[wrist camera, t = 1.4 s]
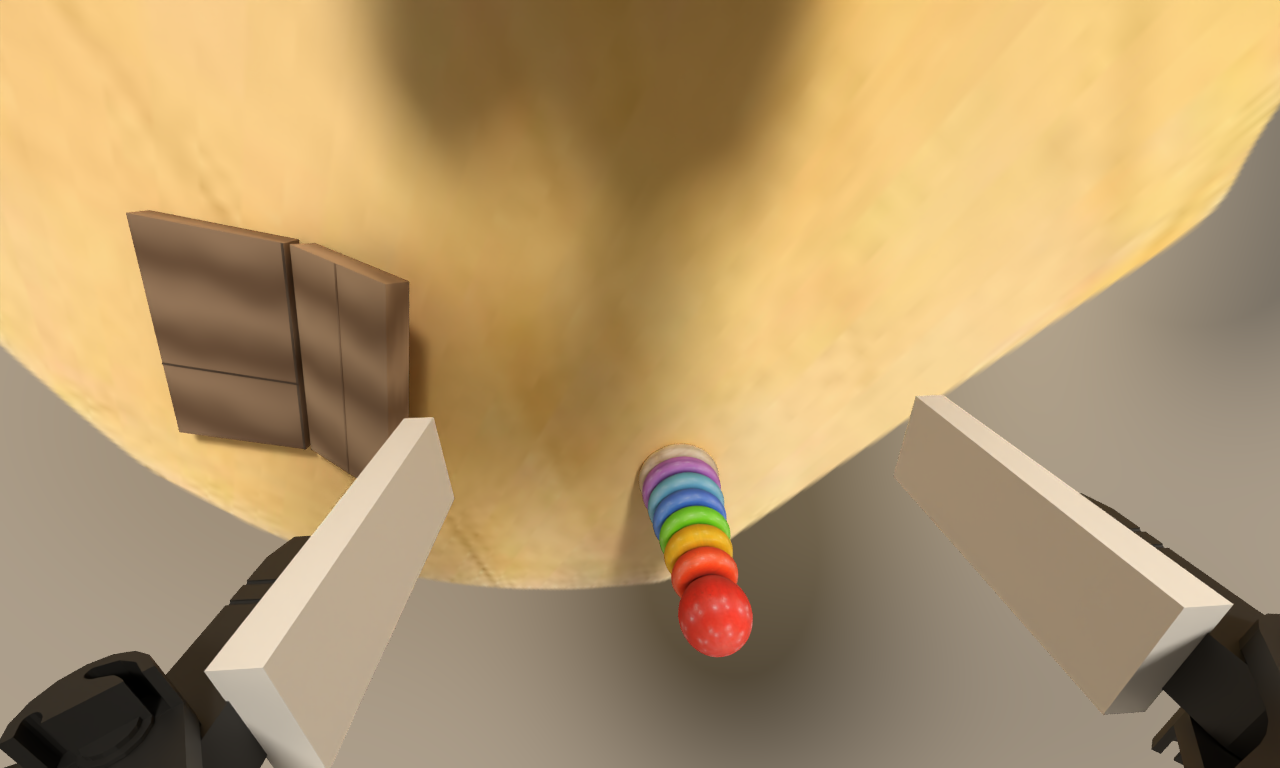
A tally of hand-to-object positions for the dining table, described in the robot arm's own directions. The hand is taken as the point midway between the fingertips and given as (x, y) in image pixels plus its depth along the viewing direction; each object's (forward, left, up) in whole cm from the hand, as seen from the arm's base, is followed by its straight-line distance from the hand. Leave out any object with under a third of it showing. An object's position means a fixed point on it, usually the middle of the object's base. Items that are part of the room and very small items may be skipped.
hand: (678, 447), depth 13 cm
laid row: (-7, -32, -27) cm, 42 cm away
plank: (-1, -23, -24) cm, 34 cm away
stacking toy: (+21, -4, -27) cm, 35 cm away
